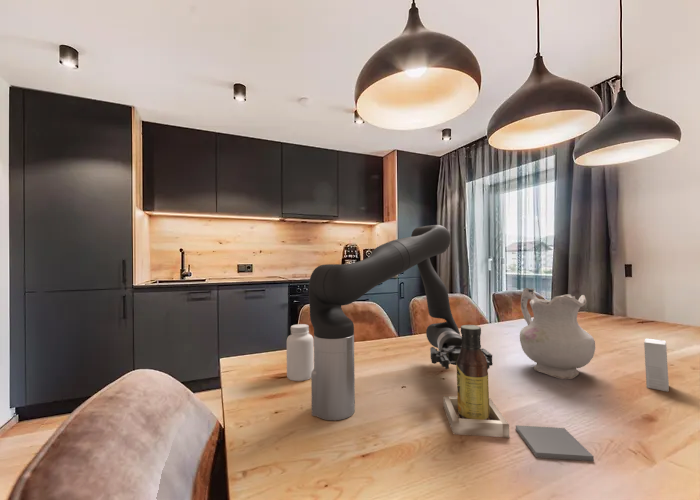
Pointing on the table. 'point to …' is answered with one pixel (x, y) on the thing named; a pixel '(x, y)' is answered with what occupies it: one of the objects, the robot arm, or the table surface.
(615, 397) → the table surface
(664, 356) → the skincare box
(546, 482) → the table surface
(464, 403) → the sauce bottle
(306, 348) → the pill bottle
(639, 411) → the table surface
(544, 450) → the coaster
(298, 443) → the table surface
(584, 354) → the ceramic pitcher
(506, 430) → the pocket frame
